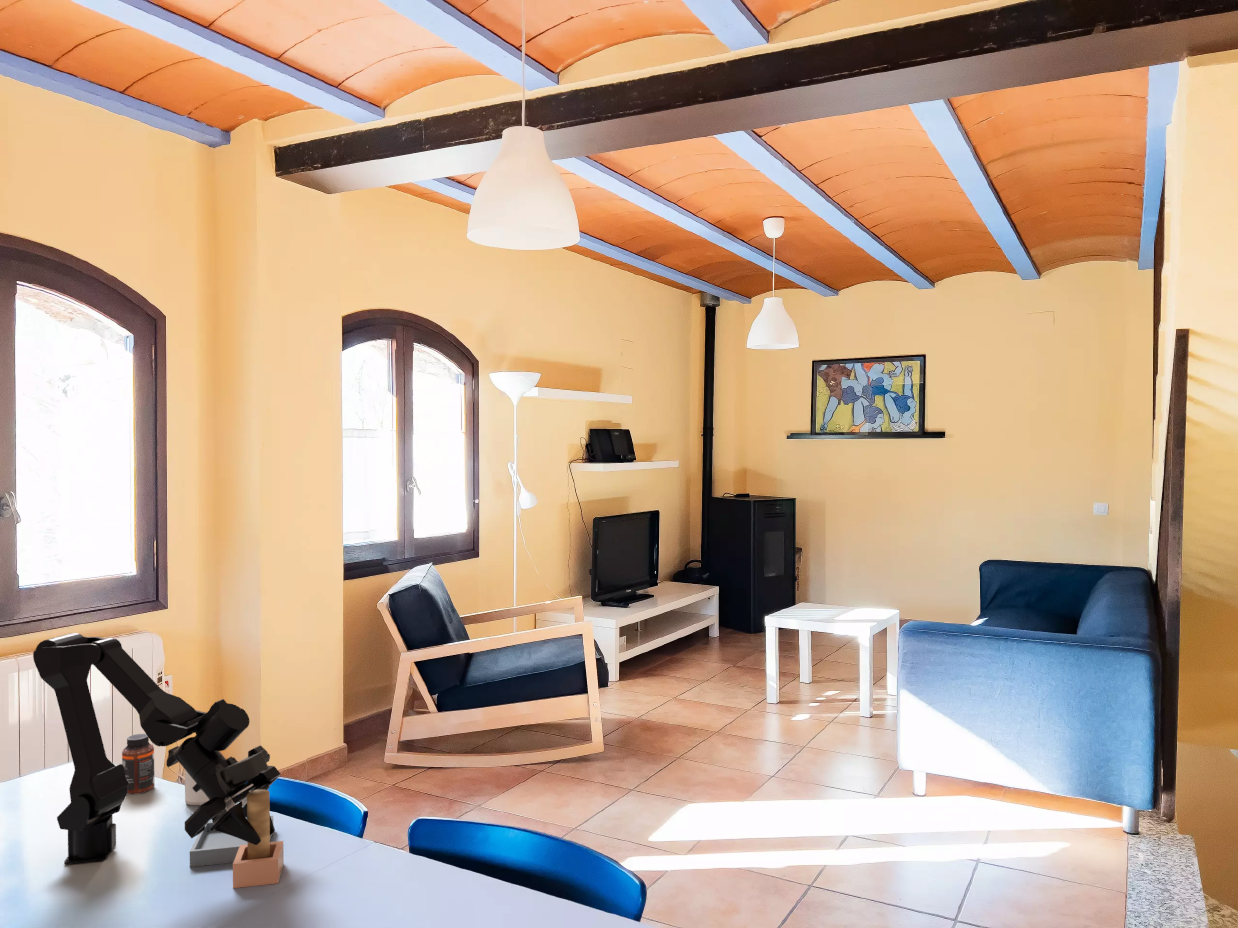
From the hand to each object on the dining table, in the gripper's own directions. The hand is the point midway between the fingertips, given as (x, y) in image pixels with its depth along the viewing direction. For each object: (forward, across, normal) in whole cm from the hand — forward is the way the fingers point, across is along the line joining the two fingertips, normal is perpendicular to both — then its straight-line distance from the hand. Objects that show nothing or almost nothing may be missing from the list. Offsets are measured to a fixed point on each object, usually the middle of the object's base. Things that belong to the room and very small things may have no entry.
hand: (265, 837), depth 148 cm
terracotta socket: (+4, 0, +6) cm, 7 cm away
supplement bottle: (-30, +26, +39) cm, 56 cm away
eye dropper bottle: (-18, +24, +27) cm, 40 cm away
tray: (-4, +8, +13) cm, 16 cm away
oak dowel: (+4, 0, +6) cm, 7 cm away
